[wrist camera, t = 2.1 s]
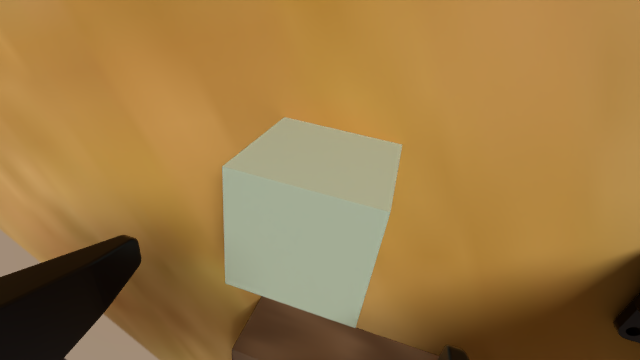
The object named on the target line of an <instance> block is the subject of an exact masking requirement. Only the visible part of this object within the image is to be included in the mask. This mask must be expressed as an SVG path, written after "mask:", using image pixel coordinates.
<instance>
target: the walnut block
mask: <svg viewBox="0 0 640 360" xmlns="http://www.w3.org/2000/svg"><path fill="white" fill-rule="evenodd" d="M438 358H439V356H437V355H434V354H431V353H428V352H426V351H423V350H420V349H417V348H414V347H411V346H408V345H405V344H402V343H399V342H396V341H393V340H391V339H388V338H385V337H382V336H379V335H376V334H373V333H370V332H367V331H364V330H361V329H359V328H353V327H350V326H348V325H345V324H342V323H339V322H336V321H333V320H330V319H327V318H324V317H321V316H319V315H316V314H313V313H310V312H307V311H304V310H301V309H298V308H295V307H292V306H290V305H287V304H284V303H281V302H278V301H275V300H272V299H269V298H266V297H263V296H262V297H261V299H260V301H259V302H258V304H257V306H256V308H255V309H254V311H253V313H252V315H251V317H250V318H249V320H248V322H247V324H246V325H245V327H244V329H243V331H242V332H241V334H240V336H239V338H238V340H237V341H236V343H235V345H234V347H233V348H232V360H438Z"/></svg>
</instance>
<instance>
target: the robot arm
mask: <svg viewBox="0 0 640 360" xmlns="http://www.w3.org/2000/svg"><path fill="white" fill-rule="evenodd" d="M140 263H141V253H140V248H139V244H138V241H137V239H136V238H133V237H130V236H127V235H121V236H118V237H115V238H112V239H109V240H106V241H103V242H100V243H97V244H94V245H92V246H89V247H86V248H83V249H80V250H77V251H74V252H71V253H68V254H66V255H63V256H60V257H57V258H54V259H51V260H48V261H45V262H43V263H40V264H37V265H34V266H31V267H28V268H26V269H22V270H20V271H17V272H14V273H11V274H8V275H5V276H2V277H0V360H62V359H63V358H64V357H65V356H66V355H67V354H68V353H69V352H70V350H71V349H72V348H73V347H74V346H75V345H76V343H78V341H79V340H80V339H81V338H82V337H83V336H84V335H85V334H86V332H87V331H88V330H89V329H90V328H91V327H92V326H93V324H94V323H95V322H96V321H97V320H98V319H99V318H100V317H101V315H102V314H103V313H104V312H105V311H106V310H107V308H108V307H109V306H110V304H111V303H112V302H113V300H114V299H115V298H116V296H117V295H118V294H119V292H120V291H121V290H122V288H123V287H124V286H125V284H126V283H127V282H128V280H129V279H130V278H131V276H132V275H133V274H134V272H135V271H136V270H137V268H138V267H139V265H140ZM613 323H614V327H615V328H616V330H617V332H618V334H619V335H620V336H621V337H623V338H625V339H628V340H631V341H634V342H638V343H640V293H639V294H638V295H637V296H636V298H635V299H634V300H633V301H632V302H631V303H630V304H629V305H628V306H627V307H626V308H625V309H624V310H623V311H622V312H621V313H620V315H619V316H618V317H617V318H616V319H615V320H614V322H613ZM438 360H469V358H468V356H467V354H466V353H465V351H464V350H462V349H460V348H457V347H454V346H451V345H446V346H445V347H444V349H443V351H442V352H441V354H440V356H439V358H438Z"/></svg>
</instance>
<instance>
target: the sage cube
mask: <svg viewBox="0 0 640 360" xmlns="http://www.w3.org/2000/svg"><path fill="white" fill-rule="evenodd" d="M401 149H402V144H397V143H393V142H389V141H384V140H380V139H376V138H372V137H367V136H363V135H359V134H355V133H350V132H346V131H342V130H337V129H333V128H329V127H325V126H320V125H316V124H312V123H308V122H303V121H299V120H295V119H290V118H286V117H284V118H283V119H282V120H280V121H279V122H278V123H277V124H275V125H274V126H273V127H271V128H270V129H269V130H268V131H266V132H265V133H264V134H263V135H261V136H260V137H259V138H258V139H256V140H255V141H254V142H252V143H251V144H250V145H249V146H247V147H246V148H245V149H244V150H242V151H241V152H240V153H239V154H237V155H236V156H235V157H234V158H232V159H231V160H230V161H228V162H227V163H226V164H225V165H223V166H222V173H223V212H224V251H225V283H226V284H229V285H232V286H234V287H237V288H240V289H243V290H246V291H249V292H252V293H255V294H258V295H261V296H263V297H266V298H269V299H272V300H275V301H278V302H281V303H284V304H287V305H290V306H292V307H295V308H298V309H301V310H304V311H307V312H310V313H313V314H316V315H319V316H321V317H324V318H327V319H330V320H333V321H336V322H339V323H342V324H345V325H348V326H350V327H353V328H356V324H357V321H358V318H359V314H360V311H361V308H362V305H363V301H364V298H365V295H366V291H367V288H368V285H369V281H370V278H371V275H372V271H373V268H374V265H375V261H376V258H377V255H378V252H379V248H380V245H381V242H382V238H383V235H384V232H385V228H386V225H387V222H388V218H389V215H390V211H391V206H392V200H393V194H394V189H395V183H396V178H397V172H398V166H399V161H400V155H401Z"/></svg>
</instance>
